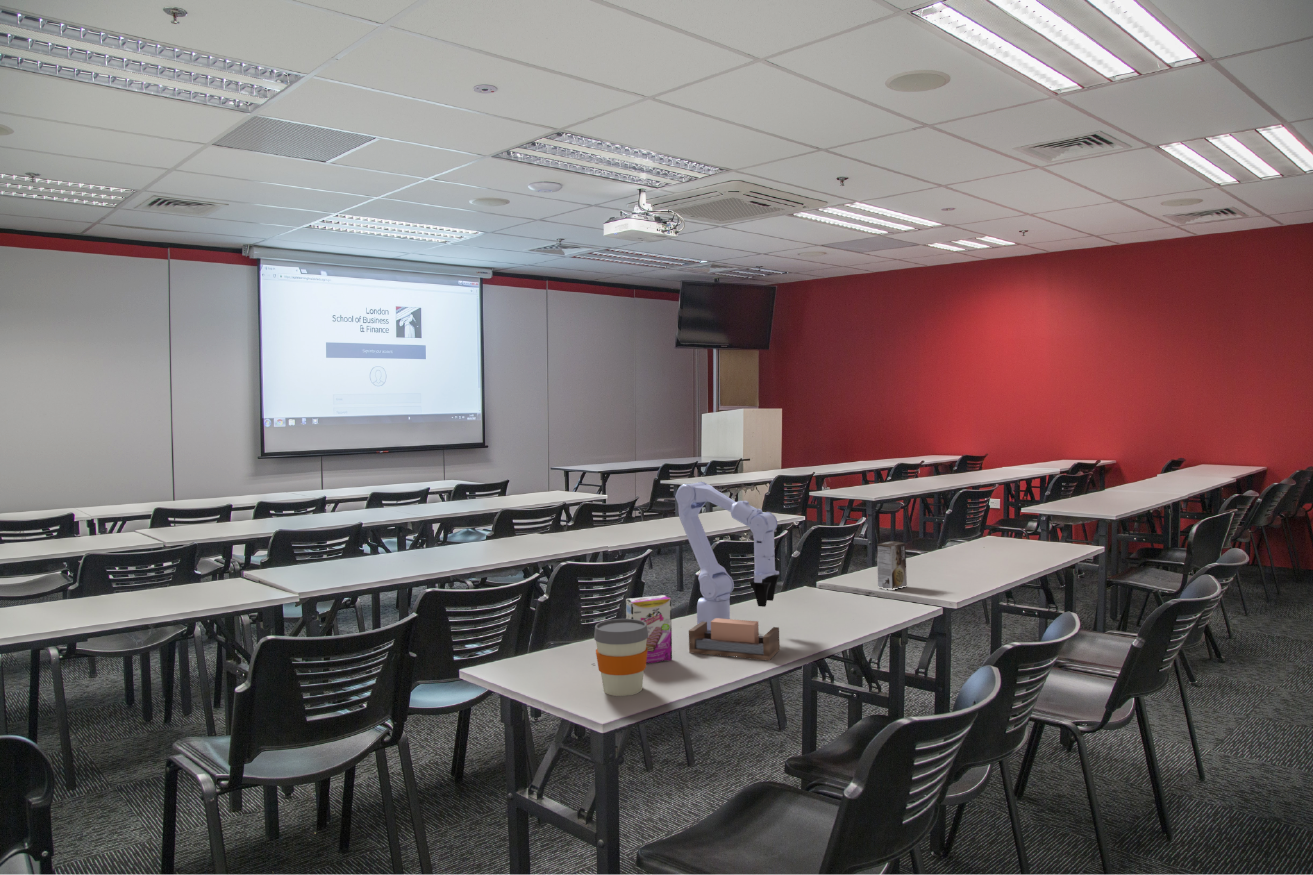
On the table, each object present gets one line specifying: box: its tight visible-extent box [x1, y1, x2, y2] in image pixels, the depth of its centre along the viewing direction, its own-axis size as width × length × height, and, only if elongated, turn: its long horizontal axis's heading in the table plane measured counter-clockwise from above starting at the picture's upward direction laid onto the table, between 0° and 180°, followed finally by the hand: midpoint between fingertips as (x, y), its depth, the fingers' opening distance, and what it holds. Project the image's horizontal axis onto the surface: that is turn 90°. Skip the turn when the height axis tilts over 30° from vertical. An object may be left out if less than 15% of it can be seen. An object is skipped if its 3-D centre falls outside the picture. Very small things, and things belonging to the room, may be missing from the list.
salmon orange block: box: [710, 618, 760, 643], centre depth 212 cm, size 12×4×7 cm, turn 66°
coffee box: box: [876, 540, 908, 589], centre depth 285 cm, size 9×6×16 cm
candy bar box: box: [625, 594, 673, 665], centre depth 206 cm, size 11×5×16 cm, turn 111°
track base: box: [688, 621, 781, 661], centre depth 212 cm, size 22×10×6 cm, turn 66°
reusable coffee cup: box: [593, 618, 648, 697], centre depth 184 cm, size 12×13×15 cm
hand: (765, 603), depth 226 cm, fingers open, 7 cm apart
